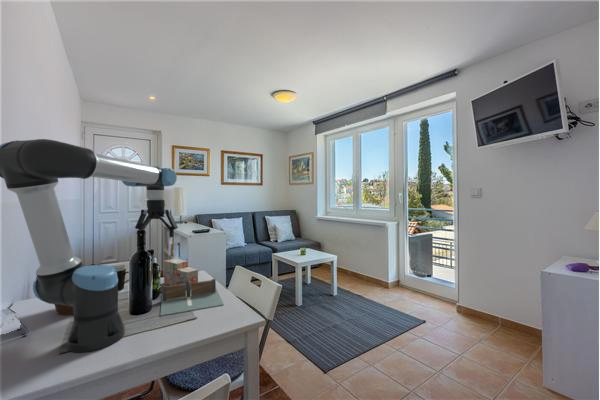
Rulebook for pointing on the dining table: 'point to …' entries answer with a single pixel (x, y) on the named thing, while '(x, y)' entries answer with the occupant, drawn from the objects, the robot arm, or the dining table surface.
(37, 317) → the dining table surface
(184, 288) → the bar
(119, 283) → the coffee mug
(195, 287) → the fence gate
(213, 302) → the board
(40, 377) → the dining table surface
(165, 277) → the stack of blocks
